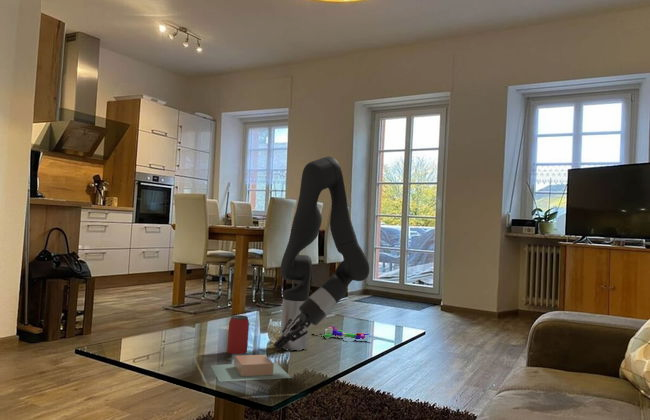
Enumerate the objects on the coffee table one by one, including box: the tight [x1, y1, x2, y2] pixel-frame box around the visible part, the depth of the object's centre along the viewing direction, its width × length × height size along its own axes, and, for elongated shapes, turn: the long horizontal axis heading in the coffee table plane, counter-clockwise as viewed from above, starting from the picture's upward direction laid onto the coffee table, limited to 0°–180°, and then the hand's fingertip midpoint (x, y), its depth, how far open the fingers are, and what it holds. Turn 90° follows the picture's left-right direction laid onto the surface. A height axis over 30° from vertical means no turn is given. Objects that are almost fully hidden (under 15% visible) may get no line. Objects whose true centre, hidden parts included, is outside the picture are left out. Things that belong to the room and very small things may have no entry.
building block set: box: [323, 325, 369, 339], centre depth 195 cm, size 25×20×4 cm
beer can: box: [226, 314, 250, 355], centre depth 156 cm, size 7×7×12 cm
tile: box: [233, 354, 274, 377], centre depth 135 cm, size 3×10×9 cm
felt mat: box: [209, 362, 293, 383], centre depth 134 cm, size 20×16×1 cm
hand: (276, 347), depth 138 cm, fingers closed
